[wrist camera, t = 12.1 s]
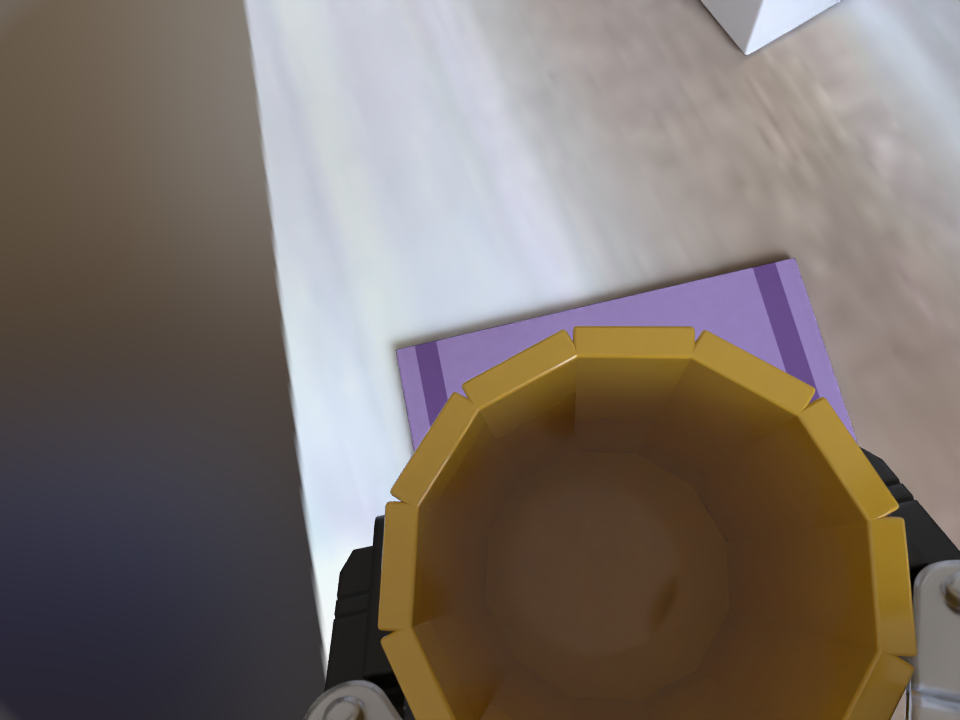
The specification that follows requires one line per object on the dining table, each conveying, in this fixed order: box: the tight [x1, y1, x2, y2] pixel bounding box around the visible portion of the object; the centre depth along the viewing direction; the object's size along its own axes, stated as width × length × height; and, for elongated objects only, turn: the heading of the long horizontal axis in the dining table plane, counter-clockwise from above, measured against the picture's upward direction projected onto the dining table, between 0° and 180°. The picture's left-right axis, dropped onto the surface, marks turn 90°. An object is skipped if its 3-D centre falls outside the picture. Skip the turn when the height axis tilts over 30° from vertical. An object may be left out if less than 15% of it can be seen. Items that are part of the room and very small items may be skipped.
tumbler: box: [378, 326, 917, 720], centre depth 14 cm, size 6×6×10 cm
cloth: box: [396, 258, 858, 452], centre depth 31 cm, size 17×12×1 cm
